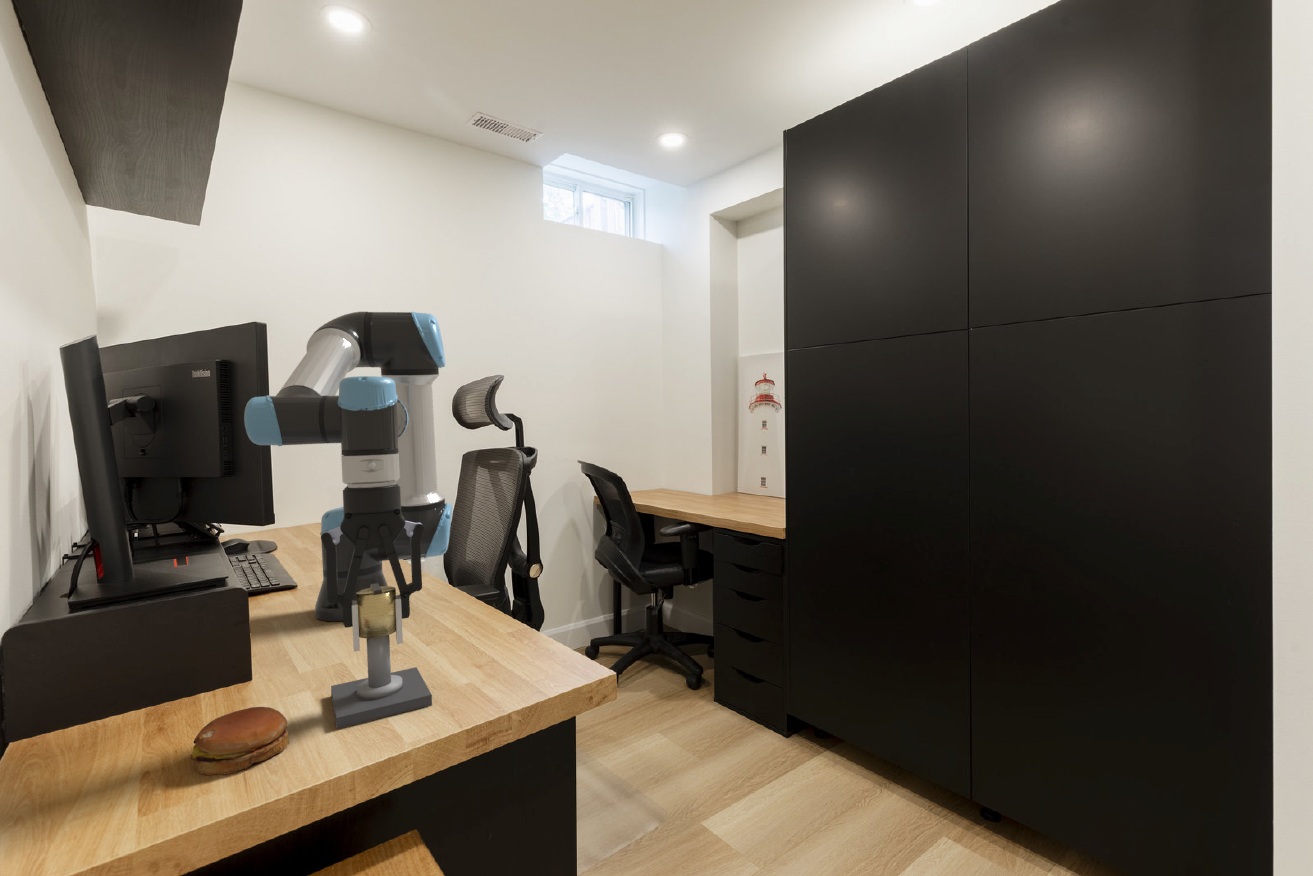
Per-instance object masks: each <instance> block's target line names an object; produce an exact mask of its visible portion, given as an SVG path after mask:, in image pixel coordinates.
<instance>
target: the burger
mask: <svg viewBox="0 0 1313 876" xmlns="http://www.w3.org/2000/svg"><path fill="white" fill-rule="evenodd" d="M287 727H288V720H287V718H286V717H285V715H284V714H283V713H281V712H280V711H279V710H277V709H275V708H272V707H270V706H269V707H268V706H252V707H249V708H244V709H240V710H236V711H232V712H229V713H226V714H224V715H221V716H219V717H217V718H214V719H213V720H211V721H210V722H208V723H206V724H205V726H204V727H202V728H201V729H200V731H199V733H197V735H196V736H195V738H194V741H193V744H195V745H194V746H193V747H192V751H193V752H192V753H191V754H190V760H192V761H193V762H194V763H195V764H196V770H197V772H198V773H200V775H201V774H202V775H205V776H218V775H222V776H224V775H228V774H233V773H237V772H239V771H242V770H245V769H247V768H249V767H251V766H253V764H257V763H261V762H263V761H266V760H268V759H270V758H273V756H276V755H277V754H279V753H281V752H282V751H284V750H285V749H286V748H287V746H288V744H289V740H290V736H289V731H288V730H287Z"/></svg>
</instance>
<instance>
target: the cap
mask: <svg viewBox="0 0 1313 876" xmlns="http://www.w3.org/2000/svg"><path fill="white" fill-rule="evenodd" d="M370 585H371V588H367V589H363V590H361V591H358V592H357V593H356V602H357V604H358V623H359V639H367V638H379V637H384V636H387V635H389V636H391V635H392V634H394V633H396V606H395V598H396V595H397V592H396V591H397V590H396V589H397V588H396V587H394V586H391V585H388V586H379V584H378V583H376V584H370Z"/></svg>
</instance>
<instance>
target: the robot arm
mask: <svg viewBox="0 0 1313 876" xmlns="http://www.w3.org/2000/svg"><path fill="white" fill-rule="evenodd" d="M444 367H446V357H445V349H444V342H443V339H442V334H441V329H440V325H439V321H438V320H437V318H436V317H435V316H434V315H433V314H431V313H426V312H425V313H424V312H415V311H411V312H410V311H409V312H408V311H407V312H406V311H405V312H403V311H401V312H397V311H396V312H395V311H394V312H391V311H375V312H374V311H356V312H350V313H347V314H343V315H340V316H337V317H336V318H334V319H333V318H332V319H331V320H329V321H328V322H326V323H324V324H322V325H321V326H320V327H318V328H317V329H316V330H315V331H314V332H313V334H311V336H310V337H309V338H308V340H307V343H306V353H305V355H304V356H303V357H302V359H301V360H300V361H299V363H298V364H297V366H296V367H295V368H294V370H293V371H292V373H291V375H289V377H288V378H287V380H286V381H285V383H284V384H283V385H282V387H281V388H280V390H279V391H278V393H276V395H275V396H274V395H270V394H269V395H264V396H254V397H252V398H250V399H249V400H248V402H247V403H246V406H245V408H244V413H243V414H244V418H243V420H244V428H245V432H246V434H247V436H248V439H249V440H250V441H251V443H253V444H256V445H258V446H278V447H283V446H294V445H295V446H296V445H297V446H298V445H300V446H301V445H317V444H318V445H319V444H320V445H321V444H340V445H341V446H340V447H341V448H340V449H341V450H340V451H341V455H340V456H341V458H340V459H341V460H340V461H341V477H342V483H343V484H345V485H346V487H344V488H343V490H342V505H343V506H341V507H337V508H333V509H329V510H328V511H325V512H324V513H323V515H322V517H321V523H320V527H321V528H320V530H321V531H320V533H319V534H320V540H321V556H322V561H321V562H322V582H321V587H320V589H319V592H318V596H317V600H316V602H315V606H314V613H315V618H316V619H318V620H321V621H325V622H343V628H352V642H353V643H352V645H353V652H360V650H361V649H360V648H361V647H360V637H359V623H358V604H357V602H356V593H357V592H358V591H361V590H363V589H367V588H371V585H370V584H376V583H378V584H379V586H389V585H388V583H387V580H386V578H385V575H384V572H383V562H384V561H385V562H386V561H389V564H390V568H391V570H392V573H393V576H394V577H393V578H395V581H396V585H397V588H398V592H399V594H396V598H395V606H396V632H395V640H396V644H397V645H400V644H404V643H403V642H404V640H403V620H404V619H409V617H410V616H411V612H410V611H411V609H410V608H411V607H410V598H411V595H412V594H413V593H416V592H419V591H421V590H422V589H423V580H422V579H423V577H422V574H423V573H422V558H423V559H428V558H430V557H431V558H432V557H440V556H443V555H444V554H446V553H447V552H448V548H449V544H450V543H449V542H450V536H451V525H452V524H451V523H452V514H453V505H452V504H451V503H449V502H447V503H446V500H445V499H446V498H445V495H444V494H443V493H442V492H441V491H440V490H438V483H437V482H438V481H437V480H438V478H437V477H438V475H437V459H436V442H435V441H436V440H435V439H436V437H435V422H434V420H435V417H434V404H433V403H434V399H433V382H434V381H436V379H437V378H438V377H439V376H440V372H439V368H440V369H442V368H444ZM357 368H380V374H381V375H380V376H374V375H373V376H372V375H370V376H365V375H364V376H362V375H361V376H347V377H346V375H347V373H348V374H349V373H351V372H352V371H353V370H354V369H357ZM337 393H338V395H337ZM400 560H410V566H411V567H410V568H411V582H410V583H408V584H407V581H406V578H405V575H404V572H403V569H402V565H401V563H400Z"/></svg>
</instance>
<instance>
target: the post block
mask: <svg viewBox="0 0 1313 876" xmlns="http://www.w3.org/2000/svg"><path fill="white" fill-rule="evenodd" d="M390 644H391V643H390V635H387V636H384V637H379V638H366V655H367V656H366V657H367V658H366V659H367V660H366V661H367V677H365V678H360V679H357V680H351V681H349V682H342V683H338V684H333V685H331V686H330V691H331V692H330V693H331V696H330V697H331V702H332V706H333V707H332V708H333V714H334V719H335V727H336V730H340V729H344V728H347V727H351V726H356V725H360V724H363V723H367V722H371V721H374V720H379V719H384V718H387V717H390V716H394V715H398V714H402V713H407V712H412V711H414V710H419V709H422V708H426V707H430V706H432V705H433V698H432V697H433V694H432V693H431V691H430V689H429V687H428V685H427V684H426V682H425V680H424V678H423V677H422V675H421V673H420V671H419V669H418V667H417V666H416V667H411V668H406V669H401V670H397V671H392V670H391V668H392V667H391V645H390Z"/></svg>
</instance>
